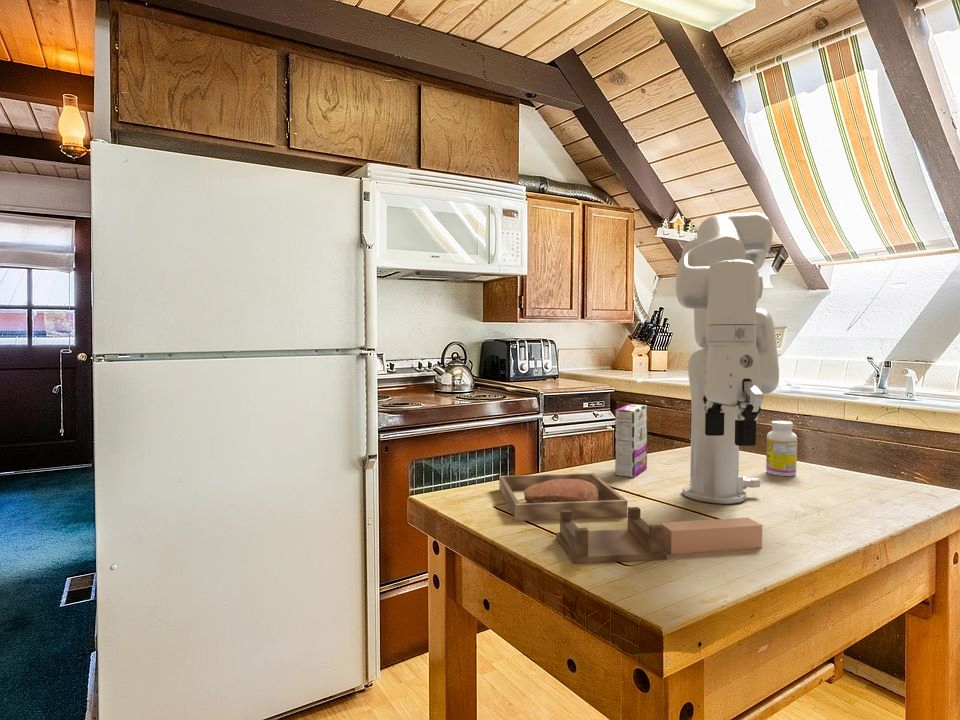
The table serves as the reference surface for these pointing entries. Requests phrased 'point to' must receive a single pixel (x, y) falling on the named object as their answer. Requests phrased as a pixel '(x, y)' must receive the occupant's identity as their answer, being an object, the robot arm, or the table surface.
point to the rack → (611, 541)
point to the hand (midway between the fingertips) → (729, 440)
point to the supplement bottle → (781, 449)
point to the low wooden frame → (546, 511)
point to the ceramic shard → (561, 491)
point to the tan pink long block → (711, 535)
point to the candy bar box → (630, 440)
